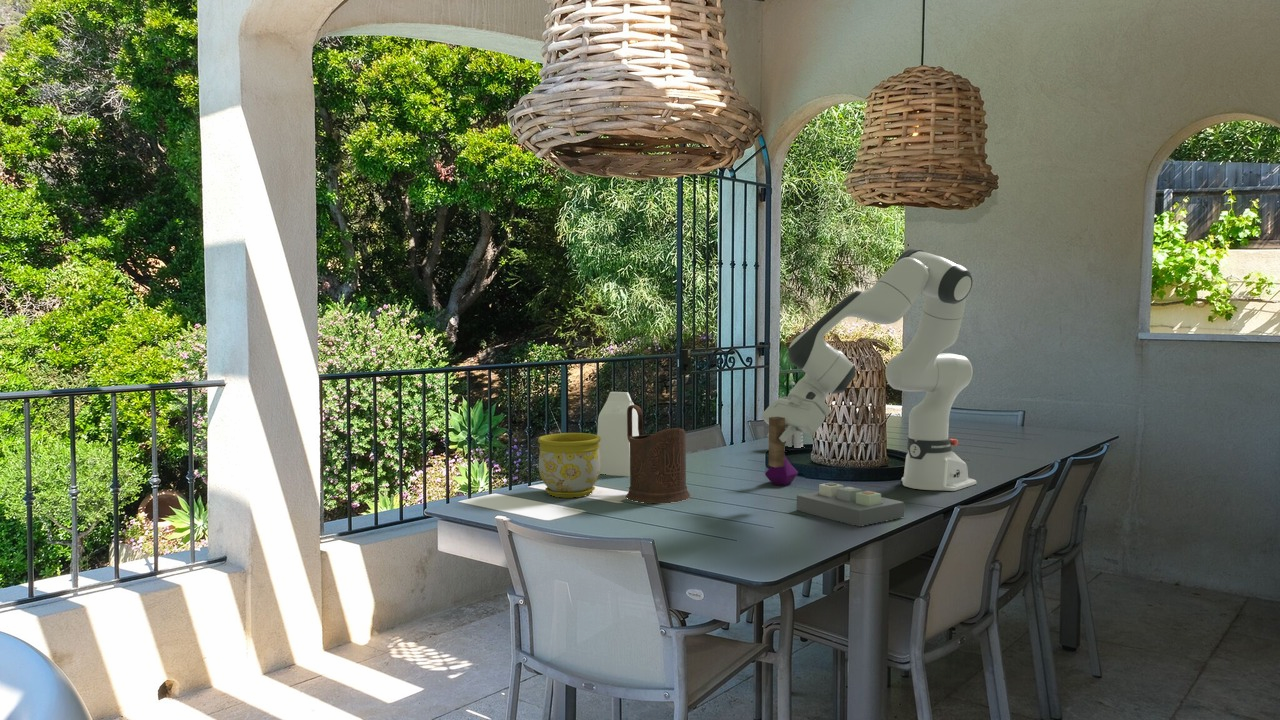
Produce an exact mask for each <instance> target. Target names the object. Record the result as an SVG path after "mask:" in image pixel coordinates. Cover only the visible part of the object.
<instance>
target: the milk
mask: <svg viewBox="0 0 1280 720" xmlns="http://www.w3.org/2000/svg"><path fill="white" fill-rule="evenodd" d="M630 405H635V404H634V402H633V400H632V398H631V395H630V393H629V391H627V392H626V391H625V392H624V391H610V392H609V394H608V396H607V400H606V401H605V403H604V405H603V407H602V409H601V410H600V412H599V414H598V418H597V433H596V435H598V436H600V438H601V440H600V442H599V446H600V447H599V453H600V462H601V466H600V473H599V475H600V474H606V475H605V476H613V477H614V476H617V477H629V476H630V442H629V440H628V437H627V408H628V407H629V406H630ZM632 436H639V432H638V414H637V411H636V410H635V409H634V408H633V409H632Z"/></svg>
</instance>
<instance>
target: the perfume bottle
mask: <svg viewBox="0 0 1280 720" xmlns="http://www.w3.org/2000/svg"><path fill="white" fill-rule="evenodd" d="M785 430H786V429H785ZM785 443H786V441H785ZM764 475H765V477H766V478H767V479H768V480H769V482H770V483H771V484H772V485H775V486H788V485H790V484H792V483H793V481H794V480H795V478H796V477H797V475H799V471H798V470H797V469H796V468H795V467H794V466H793V465H792V464H791V463H790V461H789V460H788V458H787V457H786V455H785V466H784V467H776V468H775V467H772V466H769V468H768V469H767V470H766V471H765V472H764Z"/></svg>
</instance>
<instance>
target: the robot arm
mask: <svg viewBox="0 0 1280 720" xmlns="http://www.w3.org/2000/svg"><path fill="white" fill-rule="evenodd" d="M971 273H972V272H970V271H969V270H968V269H967V268H966V267H965V266H963V265H962V264H957V263H955V262H953V260H949V259H948V258H945V257H943V256H940V255H936V254H933V253H929V252H926V251H924V250H922V249H917V248H909V249H907V250H905V251H903V252H902V253H901V254H900V255H899V256H898V257H897V259H896V261H895V263H894V264H893V265H892V266H891V267H889V268H888V270H886V271H885V272H884V273H883V275H882V276H881V277H880V278H879V279H878V280H877V282H875V284H874V285H872V286H871V287H870V288H868V289H866V290H864V291H861V290H855V291H853V292H852V293H850V294H848V295H846V296H845V297H844V298H843V299H842V300H841V301H839V302H838V303H837V304H836V305H835V306H833V307H832V308H831V309H830V310H829V311H827V312H826V313H825V314H824V315H823V316H822V317H821V318H820V319H819V320H817V321H816V322H815V323H814V324H813V325H812V326H810V328H808V329H806V330H805V331H803V332H802V333H800V334H799V335H797V336H796V337H795V338H794V339H793V340H792V341H791V342H790V344H789V347H788V348H787V352H788V353H787V354H788V359H789V361H790V364H792V365H793V366H794V367H796V368H798V369H799V370H802V371H803V372H804V373H805V374H804V376H803V377H802V378H800V379H799V380H798V381H797V383H795V385H793V389H792V388H791V390H790V391H789V393H788V394H787V396H785V395H784V396H782V397H780V398H776V399H775V400H774V401H772V402H771V404H770V405H769V406H768V407H767V408H766V409H765V410H764V411H763V413H762V414H761V419H762V420H763V421H764V422H765V423H766V424H767V425H768V426H769V417H783V418H785V429H787V430H785V431H784V432H783V433H780V434H779V436H778V437H777V439H778V440H779V441H780V442H785V441H786V439H787V438H788V437H790V436H792V435H793V434H794V433H795V432H796V431H797V432H800V433H803V434H807V435H812V434H814V433H816V431H818V430H819V428H820V427H821V426H822V424H823V423H824V421H825V420H826V417H827V416H829V415H830V414H831V412H832V409H831V408H830V407H829V405H828V404H827V403H826V402H825V401H826V399H827V397H828V395H829V394H835V395H836V394H842V393H844V392H845V391H846V389H847V388H848V387H849V385H850V383H851V382H852V381H853V379H855V377H856V367H855V365H854V364H853V363H852V361H851V360H850V359H848V357H847V356H846V355H845V353H843V352H842V351H841V350H839V349H837V348H835V347H833V346H832V345H830V344H829V343H828V342H827V341H826V340H825V338H824V337H825V336H826V334H828V333H829V332H830V331H831V330H833V329H834V328H835V327H836V326H837V325H838V324H839V323H840V322H842V321H843V320H845V318H846V319H847V318H849V317H851V318H858V319H860V320H861V319H862V320H865V321H868V322H871V323H874V324H879V325H890V324H895V323H897V322H898V321H899V320H901V319H902V318H903V317H904V316H905V315H906V314H908V311H910V310H911V308H912V306H914V304H915V303H916V302H917V300H918V298H919V297H920V295H924V296H925V299H924V302H923V306H922V310H921V315H920V318H919V323H918V327H917V330H916V331H915V334H914V336H913V338H912V339H911V341H910V342H909V343H908V344H907V345H906V347H905V348H904V349H903V350H902V351H900V352H899V353H898V354H896V355H895V356H893V357H891V358H890V360H889V361H888V362H887V364H886V367H885V377H886V381H887V383H888V385H889V387H891V388H892V389H893V390H898V391H902V392H908V393H909V392H910V393H911V392H912V393H913V392H914V393H915V392H926V393H925V396H924V398H923V400H921V401H920V403H918V404H916V405H914V406H913V407H912V409H911V410H910V411H909V414H908V437H907V440H906V449H907V453H906V455H905V461H904V471H903V472H904V473H903V476H902V477H901V482H902V485H903V486H904V487H907V488H910V489H917V490H923V491H924V490H925V491H946V492H948V491H949V492H955V491H959V490H961V489H964V488H967V487H971V486H974V485H977V484H978V483H977V480H976V479H974V478H971V477H969V474H968V473H969V471H968V465H967V463H966V462H965V461H964V460H963V459H961V458H960V456H958V455H957V454H956V452H954V451H953V447H957V446H958V445H959V440H958V439H957V438H949V427H950V426H949V424H950V413H951V410H952V406H953V404H954V402H955V400H956V398H957V396H958V395H959V394H960V393H961V392H962V390H964V389H965V388H966V387H967V386H969V384H970V383H971V381H972V379H973V375H974V374H973V373H974V371H973V370H974V369H973V364H972V363H971V361H970V359H968V358H967V357H966V356H965V355H961V354H956V353H952V352H951V353H950V352H944V353H943V351H944V350H946V349H948V348H950V347H952V346H953V345H954V344H955V343H956V342H957V340H958V338H959V335H960V334H959V333H960V329H961V326H962V321H963V318H964V313H965V309H966V308H965V307H966V300H967V297H968V295H969V294H970V292H971V290H972V287H973V277H972V274H971ZM766 434H767V435H766V436H767V438H768V439H769V432H768V433H766ZM952 446H953V447H952Z"/></svg>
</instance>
